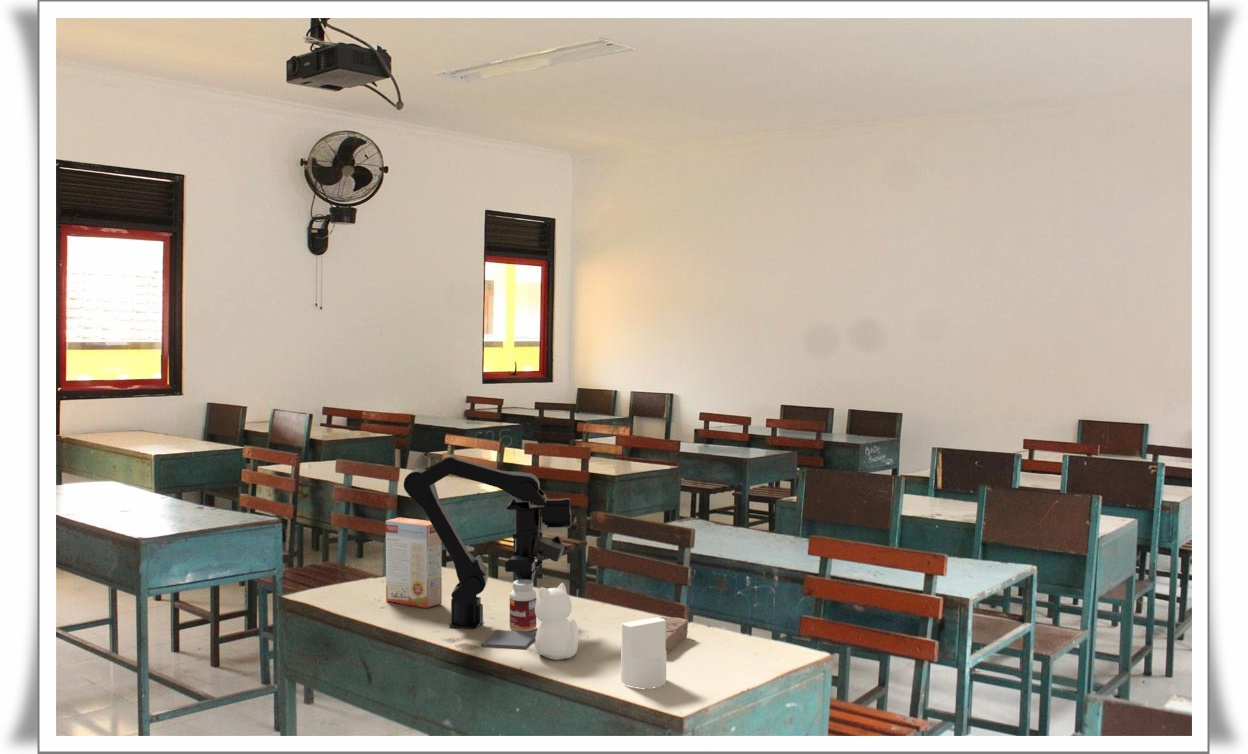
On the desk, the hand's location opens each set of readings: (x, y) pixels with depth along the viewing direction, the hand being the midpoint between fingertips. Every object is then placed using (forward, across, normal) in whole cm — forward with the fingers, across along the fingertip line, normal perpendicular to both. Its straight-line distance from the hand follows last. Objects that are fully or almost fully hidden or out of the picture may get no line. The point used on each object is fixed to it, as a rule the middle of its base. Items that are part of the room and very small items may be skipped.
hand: (527, 594), depth 263 cm
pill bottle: (+7, -4, 0) cm, 8 cm away
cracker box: (+7, +15, +33) cm, 37 cm away
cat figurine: (+7, -23, -12) cm, 27 cm away
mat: (+7, -14, +1) cm, 15 cm away
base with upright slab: (+7, -36, -32) cm, 49 cm away
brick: (+8, -11, -32) cm, 35 cm away
